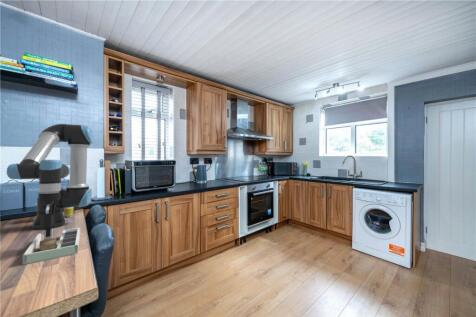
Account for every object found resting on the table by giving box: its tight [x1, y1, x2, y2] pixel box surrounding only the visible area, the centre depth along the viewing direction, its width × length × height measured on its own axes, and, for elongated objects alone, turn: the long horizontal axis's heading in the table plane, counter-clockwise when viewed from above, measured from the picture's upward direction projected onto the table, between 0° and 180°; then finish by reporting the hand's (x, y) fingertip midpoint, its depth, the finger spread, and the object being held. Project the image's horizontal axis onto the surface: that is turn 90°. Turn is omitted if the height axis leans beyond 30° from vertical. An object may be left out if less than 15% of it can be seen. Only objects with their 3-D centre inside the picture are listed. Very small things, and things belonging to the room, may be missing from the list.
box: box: [22, 227, 81, 266], centre depth 93 cm, size 30×16×4 cm, turn 37°
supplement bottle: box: [63, 207, 75, 218], centre depth 145 cm, size 5×5×10 cm
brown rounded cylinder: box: [38, 237, 57, 252], centre depth 90 cm, size 6×6×4 cm
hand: (48, 243), depth 92 cm, fingers closed
